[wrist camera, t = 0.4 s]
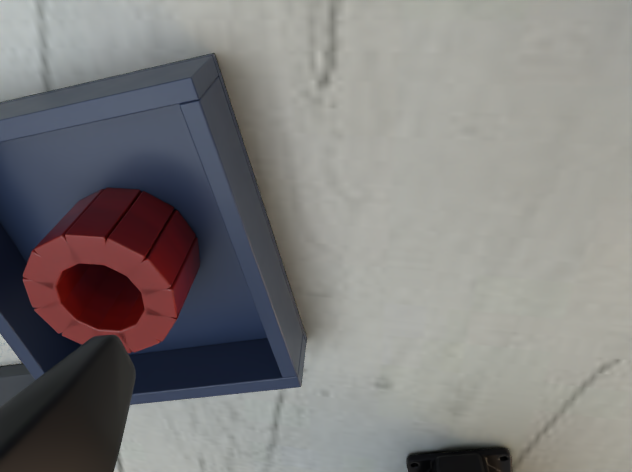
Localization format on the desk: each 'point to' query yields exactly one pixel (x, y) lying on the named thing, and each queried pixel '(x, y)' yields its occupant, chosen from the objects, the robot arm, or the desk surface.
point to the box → (185, 196)
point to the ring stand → (13, 381)
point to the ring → (114, 269)
